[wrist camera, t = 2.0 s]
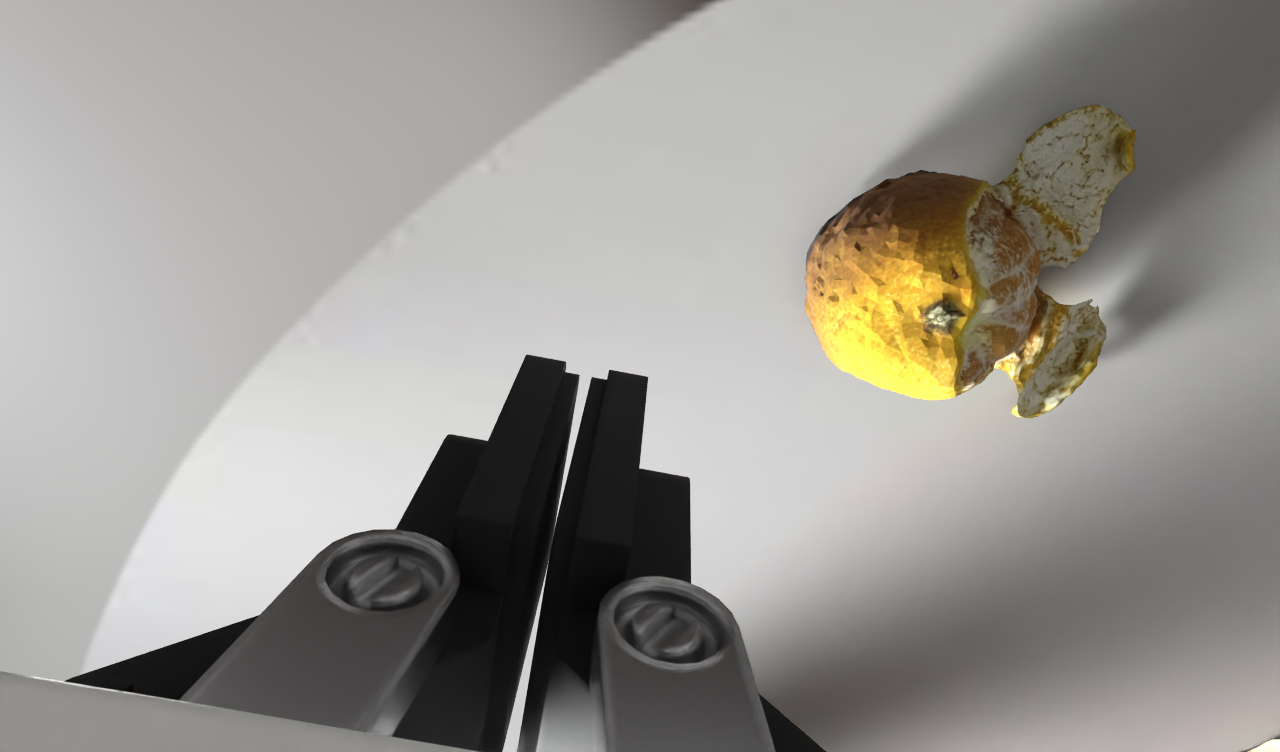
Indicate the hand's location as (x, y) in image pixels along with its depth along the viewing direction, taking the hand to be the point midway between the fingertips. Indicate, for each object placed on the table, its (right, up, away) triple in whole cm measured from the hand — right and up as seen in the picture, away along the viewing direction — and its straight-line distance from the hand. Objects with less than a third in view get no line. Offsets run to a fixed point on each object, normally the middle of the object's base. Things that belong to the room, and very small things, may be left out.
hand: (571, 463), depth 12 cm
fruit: (+10, +4, +12) cm, 16 cm away
